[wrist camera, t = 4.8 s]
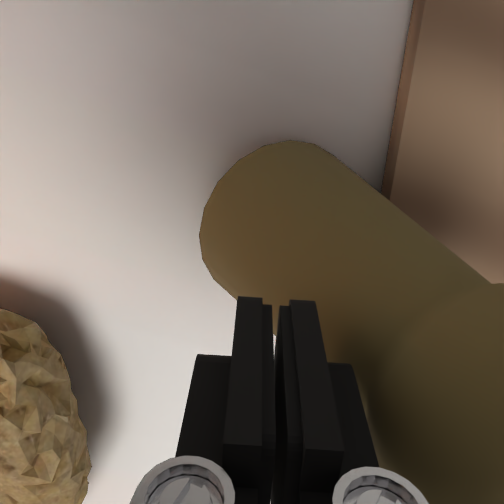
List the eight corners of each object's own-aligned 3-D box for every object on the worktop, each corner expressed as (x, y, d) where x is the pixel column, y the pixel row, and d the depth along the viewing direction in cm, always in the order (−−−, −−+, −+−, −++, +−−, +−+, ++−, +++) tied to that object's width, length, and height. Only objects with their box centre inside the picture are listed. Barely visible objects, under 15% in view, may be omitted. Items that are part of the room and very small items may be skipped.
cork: (223, 323, 17) (440, 659, 9) (175, 180, 14) (451, 490, 5) (358, 259, 19) (660, 490, 10) (343, 114, 15) (778, 274, 7)
